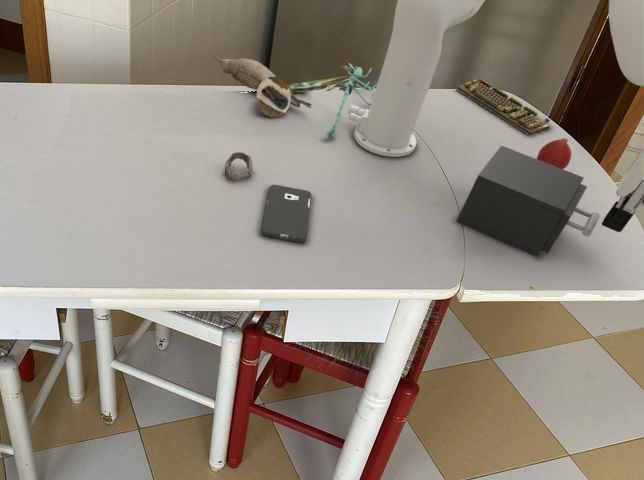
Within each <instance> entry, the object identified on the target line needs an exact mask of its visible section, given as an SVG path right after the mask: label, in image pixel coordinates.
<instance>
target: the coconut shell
mask: <svg viewBox="0 0 644 480" xmlns="http://www.w3.org/2000/svg"><path fill="white" fill-rule="evenodd" d="M256 91H257V92H256V93H255V94H254V95H255V97H256V102H257V105H258V107H259V109H260V111H261V112H262V113H263V114H264V115H265V116H267V117H270V118H278V117H281V116H283V115H285V114H286V112H287V111H288V110H289V108H290V105H291V104H290V101H291V93H290V90H289V88H288V84H287V83H286V82H285V81H284V80H283V79H282V78H280V77H278V76H276V77H268V78H266V79H264V80H263V81H262V82H261V84H260V85H259V87H258V90H256Z"/></svg>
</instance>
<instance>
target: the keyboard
mask: <svg viewBox="0 0 644 480" xmlns="http://www.w3.org/2000/svg"><path fill="white" fill-rule="evenodd" d="M455 90H456V91H457V92H459V93H460V94H461V95H463V96H465V97H467V98H468V99H470V100H471V101H473V102H475V103H476V104H478V105H480V106H481V107H483V108H484V109H485V110H488V111H489V112H490V113H492V114H493V115H495V116H496V117H498V118H500V119H501V120H503V121H505V122H506V123H508V124H509V125H511V126H512V127H514V128H516V129H517V130H519V131H520V132H522V133H524V134H525V135H527V136H529V135H532V134H534V133H537V132H540V131H543V130H546V129H550V128H551V126H550V124H549V122H550V121H551V119H550V118H548V117H547V118H545V119H544V120H543V119H541V118H539V117H537V116H538V112H537V111H535V110H534V109H532V108H531V107H529V106H527V105H526V106H523V103H522V102H520V101H519V100H517V99H516V98H514V97H512V96H511V97H509V95H508V93H506V92H504V91H502V90H500V89H499V88H497V87H496V86H494V87H492V84H491V83H489V82H488V81H486V80H484V79H483V78H479V80H478V81H477V79H473V80H472V81H467V82H465V83H464V84H460V85H458V86H457V87H456V88H455Z"/></svg>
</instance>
